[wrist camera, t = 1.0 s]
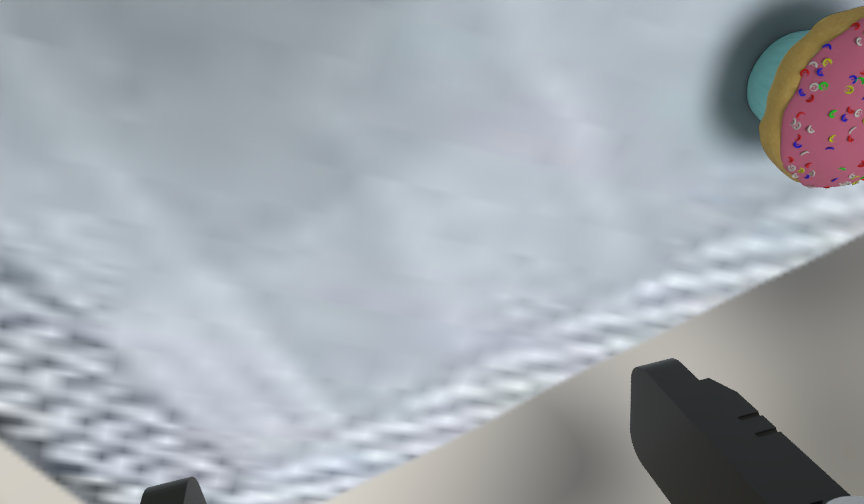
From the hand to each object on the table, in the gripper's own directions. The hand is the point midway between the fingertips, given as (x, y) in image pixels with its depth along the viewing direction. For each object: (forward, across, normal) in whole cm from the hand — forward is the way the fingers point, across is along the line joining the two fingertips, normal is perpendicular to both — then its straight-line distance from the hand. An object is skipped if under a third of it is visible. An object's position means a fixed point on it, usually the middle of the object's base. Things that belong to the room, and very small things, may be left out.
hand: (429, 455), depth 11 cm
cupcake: (+21, -24, 0) cm, 32 cm away
